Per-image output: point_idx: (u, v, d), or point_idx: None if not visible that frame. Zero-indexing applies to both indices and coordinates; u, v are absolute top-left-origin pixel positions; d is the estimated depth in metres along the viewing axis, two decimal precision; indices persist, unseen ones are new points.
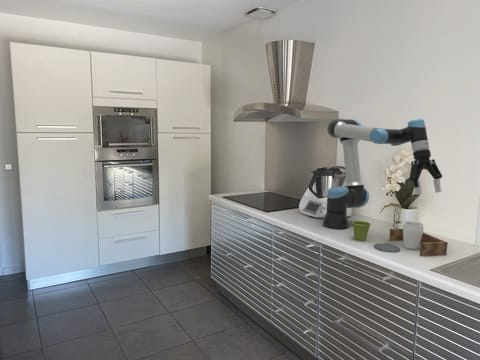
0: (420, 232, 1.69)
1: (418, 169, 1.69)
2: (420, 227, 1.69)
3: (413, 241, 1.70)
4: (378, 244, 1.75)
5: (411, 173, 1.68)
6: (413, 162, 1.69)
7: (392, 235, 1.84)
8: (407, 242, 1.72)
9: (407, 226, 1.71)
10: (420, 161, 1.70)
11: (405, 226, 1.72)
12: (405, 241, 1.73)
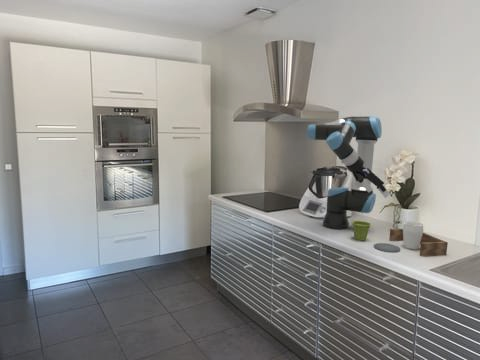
0: (420, 232, 1.69)
1: None
2: (420, 227, 1.69)
3: (413, 241, 1.70)
4: (378, 244, 1.75)
5: None
6: None
7: (392, 235, 1.84)
8: (407, 242, 1.72)
9: (407, 226, 1.71)
10: None
11: (405, 226, 1.72)
12: (405, 241, 1.73)
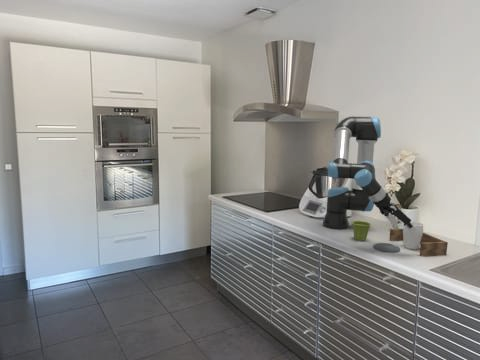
0: (420, 232, 1.69)
1: None
2: (420, 227, 1.69)
3: (413, 241, 1.70)
4: (378, 244, 1.75)
5: None
6: None
7: (392, 235, 1.84)
8: (407, 242, 1.72)
9: None
10: None
11: (405, 226, 1.72)
12: (405, 241, 1.73)
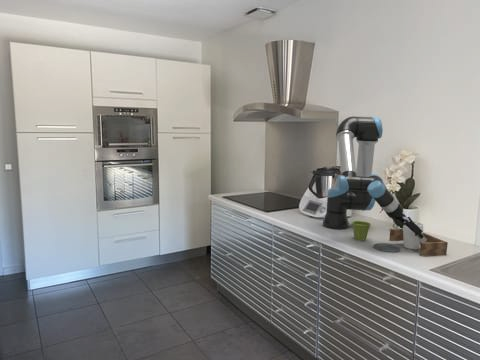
0: None
1: None
2: (420, 227, 1.69)
3: (413, 241, 1.70)
4: (378, 244, 1.75)
5: None
6: None
7: (392, 235, 1.84)
8: (407, 242, 1.72)
9: None
10: None
11: (405, 226, 1.72)
12: (405, 241, 1.73)
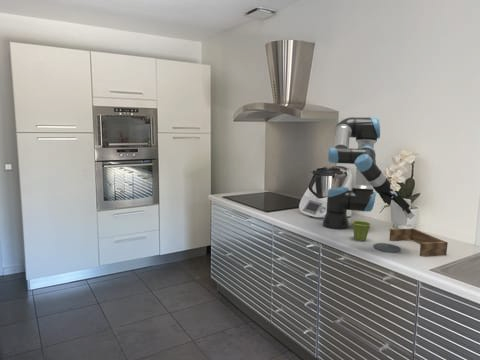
0: None
1: None
2: (408, 202, 1.65)
3: (400, 216, 1.67)
4: (378, 244, 1.75)
5: None
6: None
7: (392, 235, 1.84)
8: (395, 218, 1.68)
9: None
10: None
11: (392, 202, 1.68)
12: (392, 217, 1.69)
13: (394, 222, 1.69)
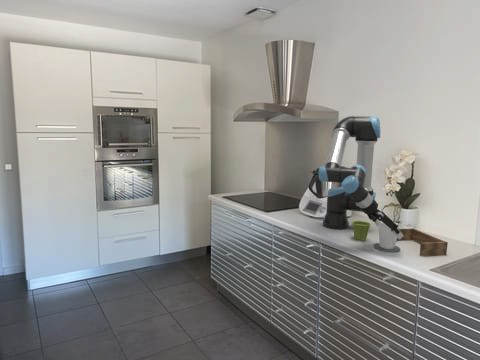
0: None
1: None
2: None
3: (388, 240, 1.67)
4: (378, 244, 1.75)
5: None
6: None
7: None
8: (383, 242, 1.69)
9: (382, 225, 1.68)
10: None
11: (380, 225, 1.69)
12: (380, 241, 1.70)
13: (382, 246, 1.70)
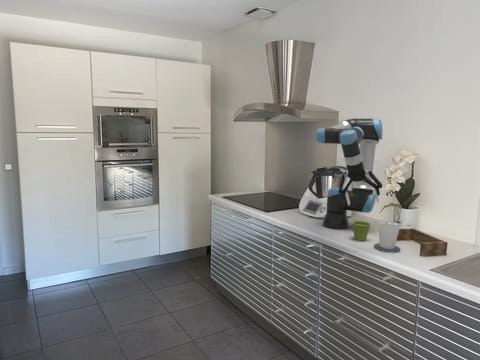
0: (395, 232, 1.66)
1: (348, 182, 1.70)
2: (395, 226, 1.66)
3: (388, 240, 1.67)
4: (378, 244, 1.75)
5: None
6: None
7: None
8: (383, 242, 1.69)
9: (382, 225, 1.68)
10: (349, 175, 1.68)
11: (380, 225, 1.69)
12: (380, 241, 1.70)
13: (382, 246, 1.70)
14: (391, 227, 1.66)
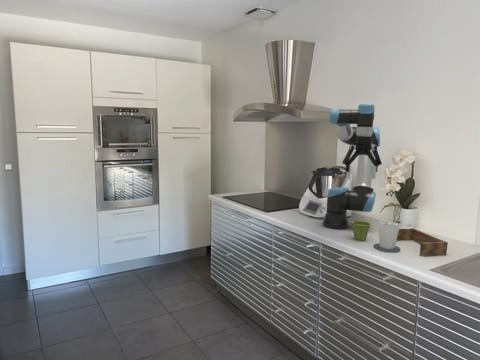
0: (395, 232, 1.66)
1: (354, 154, 1.73)
2: (395, 226, 1.66)
3: (388, 240, 1.67)
4: (378, 244, 1.75)
5: (345, 157, 1.73)
6: (350, 147, 1.73)
7: None
8: (383, 242, 1.69)
9: (382, 225, 1.68)
10: (358, 147, 1.72)
11: (380, 225, 1.69)
12: (380, 241, 1.70)
13: (382, 246, 1.69)
14: (391, 227, 1.66)
